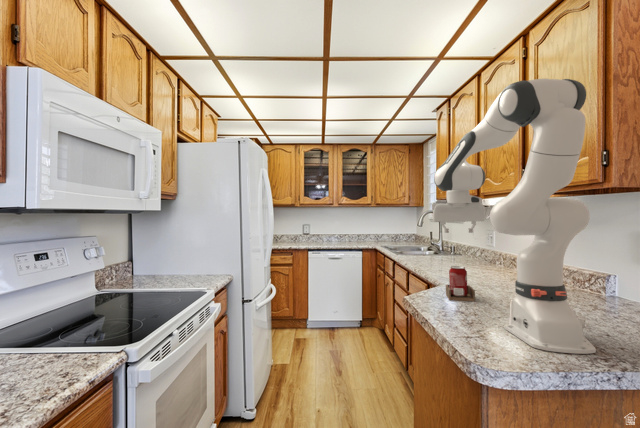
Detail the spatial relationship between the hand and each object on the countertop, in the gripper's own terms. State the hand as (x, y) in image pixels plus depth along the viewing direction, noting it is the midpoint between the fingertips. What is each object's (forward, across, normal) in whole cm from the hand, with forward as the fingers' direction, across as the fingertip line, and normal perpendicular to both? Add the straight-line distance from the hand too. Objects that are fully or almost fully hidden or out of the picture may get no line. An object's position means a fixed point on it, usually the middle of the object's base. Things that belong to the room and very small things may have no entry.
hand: (458, 232), depth 130 cm
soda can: (+26, -1, 0) cm, 26 cm away
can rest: (+27, 0, 0) cm, 27 cm away
